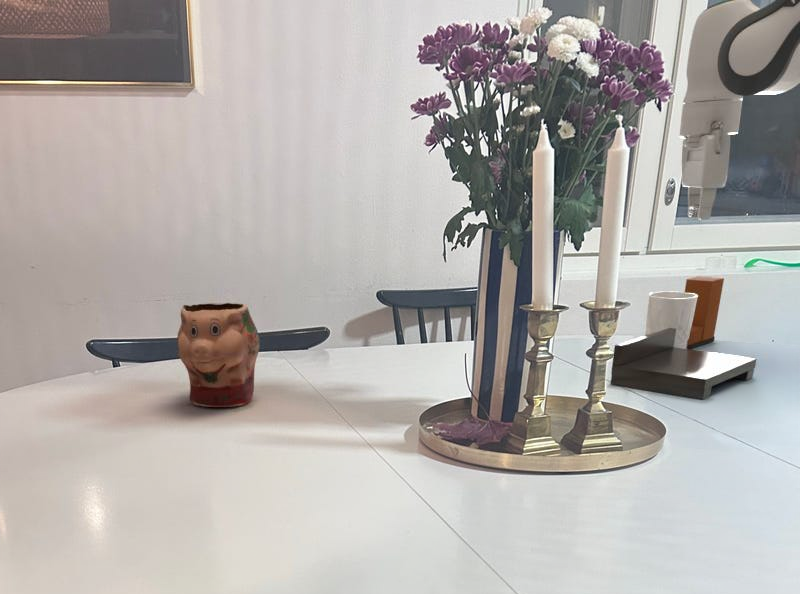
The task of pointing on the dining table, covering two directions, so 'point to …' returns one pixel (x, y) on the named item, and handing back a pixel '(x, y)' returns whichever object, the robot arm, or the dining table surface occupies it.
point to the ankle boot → (704, 309)
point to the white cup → (671, 314)
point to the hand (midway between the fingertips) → (698, 218)
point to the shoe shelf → (674, 366)
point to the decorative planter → (218, 353)
